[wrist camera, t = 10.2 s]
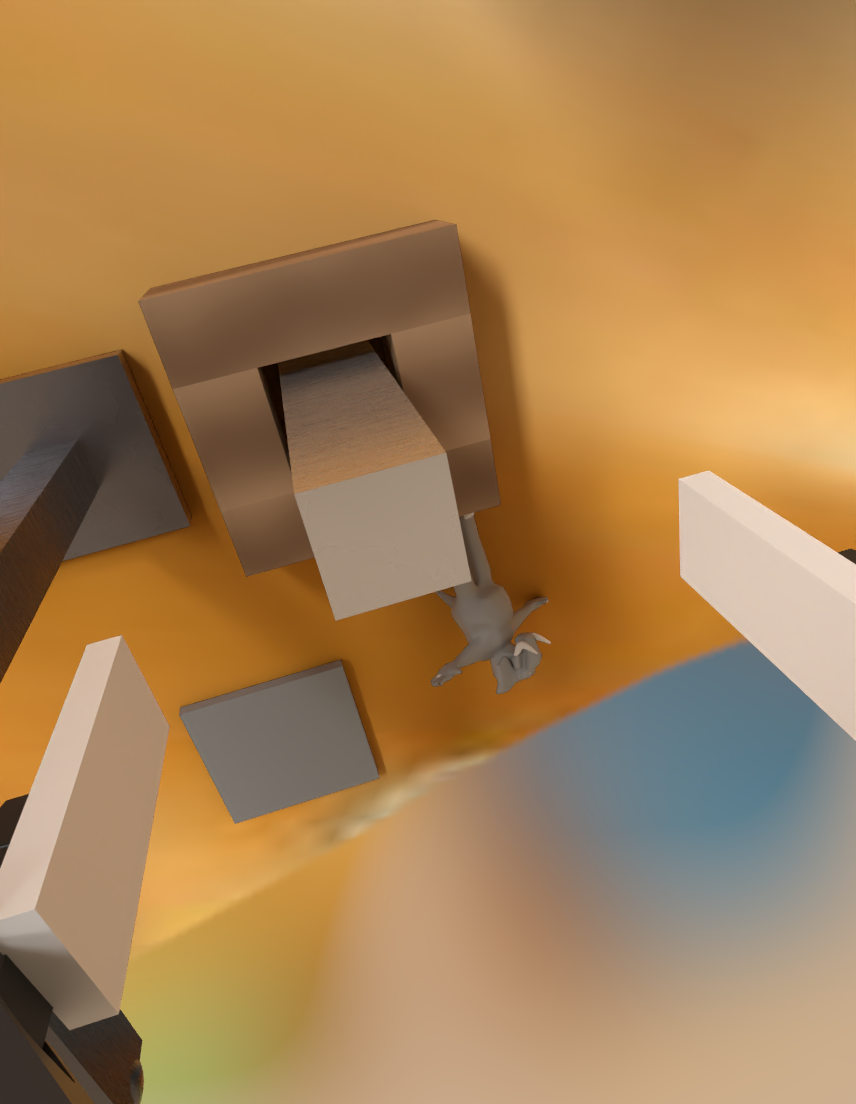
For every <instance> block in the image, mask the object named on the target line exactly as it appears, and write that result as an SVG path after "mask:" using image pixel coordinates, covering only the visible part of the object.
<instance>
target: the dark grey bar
mask: <svg viewBox="0 0 856 1104" xmlns="http://www.w3.org/2000/svg"><path fill="white" fill-rule="evenodd" d="M45 1039H46V1040H47V1042H48V1043H49V1044H50V1045H51V1046H52V1047H53V1048H54V1049H55V1051H56V1052H57V1053H58V1055H59V1056H60V1057H61V1059H62V1060H63V1061H64V1063H65V1064H66V1066H67V1067H68V1068H69V1070H70V1071H71V1072H72V1074H73V1075H74V1076H75V1078H76V1079H77V1081H78V1082H79V1083H80V1085H81V1086H82V1087H83V1089H84V1090H85V1091H86V1093H87V1094H88V1095H89V1097H90V1098H91V1100H92V1101H93V1102H94V1104H140V1102H141V1098H142V1093H143V1085H144V1079H143V1070H142V1066H141V1063H140V1052H141V1045H142V1039H141V1038H140V1037H139V1035H138V1034H137V1033H136V1031H135V1029H134V1028H133V1027H132V1025H131V1024H130V1023H129V1021H128V1020H127V1018H126V1017H125V1015H124V1014H123V1013H122V1011H121V1010H120V1011H119V1014H118V1015H115V1016H112V1017H109V1018H105V1019H102V1020H99V1021H96V1022H93V1023H90V1024H87V1025H84V1026H81V1027H78V1028H75V1029H72V1030H69V1029H68V1028H67V1027H66V1026H65V1025H64V1023H63V1022H62V1021H61V1020H60V1019H59V1018H58V1017H57V1016H56V1014H55V1013H54V1012H53V1011H52V1014H51V1018H50V1022H49V1026H48V1030H47V1034H46V1038H45Z"/></svg>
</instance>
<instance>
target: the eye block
mask: <svg viewBox="0 0 856 1104" xmlns="http://www.w3.org/2000/svg"><path fill="white" fill-rule="evenodd" d="M138 302H139V305H140V307H141V310H142V312H143V315H144V317H145V320H146V322H147V325H148V328H149V330H150V333H151V335H152V338H153V340H154V343H155V345H156V348H157V350H158V353H159V356H160V358H161V361H162V363H163V366H164V368H165V371H166V373H167V376H168V378H169V381H170V384H171V386H172V389H173V391H174V394H175V396H176V399H177V401H178V404H179V406H180V409H181V412H182V414H183V417H184V419H185V422H186V424H187V427H188V429H189V432H190V434H191V437H192V440H193V442H194V445H195V447H196V450H197V452H198V455H199V457H200V460H201V462H202V465H203V468H204V470H205V473H206V475H207V478H208V480H209V483H210V485H211V488H212V491H213V493H214V496H215V498H216V501H217V503H218V506H219V508H220V511H221V513H222V516H223V519H224V521H225V524H226V526H227V529H228V531H229V534H230V536H231V539H232V541H233V544H234V547H235V549H236V552H237V554H238V557H239V559H240V562H241V564H242V567H243V569H244V572H245V575H246V577H247V576H251V575H254V574H258V573H261V572H265V571H268V570H272V569H276V568H279V567H283V566H286V565H290V564H293V563H297V562H300V561H304V560H307V559H311V558H315V556H314V553H313V550H312V547H311V544H310V541H309V538H308V535H307V532H306V529H305V526H304V523H303V520H302V517H301V514H300V511H299V507H298V504H297V501H296V498H295V495H294V489H293V481H292V473H291V465H290V457H289V448H288V445H287V442H286V438H285V435H284V432H283V429H282V426H281V423H280V420H279V417H278V413H277V410H276V407H275V404H274V401H273V398H272V395H271V392H270V388H269V385H268V382H267V379H266V376H265V373H264V370H263V366H267V365H270V364H274V363H278V362H282V361H286V360H290V359H294V358H298V357H302V356H306V355H310V354H314V353H318V352H322V351H326V350H329V349H333V348H337V347H341V346H345V345H349V344H353V343H357V342H361V341H365V340H369V339H373V338H377V337H381V336H382V340H383V345H384V349H385V354H386V358H387V362H388V367H389V371H390V373H391V375H392V376H393V378H394V379H395V380H396V382H397V383H398V385H399V386H400V388H401V389H402V390H403V392H404V393H405V395H406V396H407V398H408V399H409V400H410V402H411V403H412V405H413V406H414V407H415V409H416V410H417V412H418V413H419V415H420V416H421V417H422V419H423V420H424V422H425V423H426V425H427V426H428V427H429V429H430V430H431V432H432V433H433V435H434V436H435V437H436V439H437V440H438V442H439V443H440V444H441V446H442V447H443V449H444V450H445V452H446V454H447V459H448V464H449V469H450V474H451V479H452V484H453V489H454V494H455V499H456V505H457V510H458V515H459V517H460V516H463V515H467V514H470V513H474V512H477V511H481V510H485V509H488V508H492V507H495V506H499V505H501V501H500V495H499V489H498V482H497V476H496V470H495V464H494V457H493V451H492V445H491V439H490V432H489V426H488V420H487V413H486V407H485V401H484V395H483V388H482V382H481V376H480V370H479V363H478V357H477V351H476V345H475V338H474V332H473V326H472V319H471V313H470V307H469V301H468V294H467V288H466V282H465V276H464V269H463V263H462V257H461V250H460V244H459V238H458V232H457V225H456V224H452V223H448V222H443V221H438V220H433V221H429V222H424V223H420V224H416V225H412V226H408V227H404V228H399V229H395V230H391V231H387V232H383V233H379V234H374V235H370V236H366V237H362V238H358V239H354V240H349V241H345V242H341V243H337V244H333V245H329V246H324V247H320V248H316V249H312V250H308V251H303V252H299V253H295V254H291V255H287V256H283V257H278V258H274V259H270V260H266V261H262V262H258V263H253V264H249V265H245V266H241V267H237V268H233V269H228V270H224V271H220V272H216V273H212V274H208V275H203V276H199V277H195V278H191V279H187V280H183V281H178V282H174V283H170V284H166V285H162V286H158V287H153V288H150V289H149V290H148V291H147V292H146V294H145V295H144V296H143V297H142V298H141V299H140V300H139V301H138Z"/></svg>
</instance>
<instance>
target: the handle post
mask: <svg viewBox="0 0 856 1104" xmlns="http://www.w3.org/2000/svg"><path fill="white" fill-rule="evenodd" d="M191 519H192V516H191V514H190V511H189V509H188V507H187V504H186V502H185V499H184V497H183V495H182V492H181V490H180V487H179V485H178V483H177V480H176V478H175V475H174V473H173V471H172V468H171V466H170V464H169V461H168V459H167V456H166V454H165V452H164V449H163V447H162V444H161V442H160V440H159V437H158V435H157V432H156V430H155V428H154V425H153V423H152V421H151V418H150V416H149V413H148V411H147V409H146V406H145V404H144V401H143V399H142V397H141V394H140V392H139V389H138V387H137V385H136V382H135V380H134V378H133V375H132V373H131V370H130V368H129V366H128V363H127V361H126V358H125V356H124V354H123V351H122V350H118V351H114V352H110V353H106V354H102V355H98V356H93V357H89V358H85V359H81V360H77V361H73V362H69V363H65V364H61V365H57V366H53V367H49V368H45V369H41V370H37V371H33V372H29V373H25V374H21V375H17V376H13V377H8V378H4V379H0V683H1V681H2V679H3V677H4V675H5V673H6V671H7V669H8V667H9V665H10V663H11V661H12V659H13V657H14V655H15V653H16V651H17V649H18V647H19V645H20V644H21V642H22V640H23V638H24V636H25V634H26V632H27V630H28V628H29V626H30V624H31V622H32V620H33V618H34V616H35V614H36V612H37V610H38V608H39V606H40V604H41V602H42V600H43V598H44V596H45V594H46V592H47V590H48V588H49V586H50V584H51V582H52V580H53V578H54V576H55V575H56V573H57V571H58V569H59V567H60V565H61V563H62V561H65V560H68V559H72V558H76V557H79V556H83V555H87V554H90V553H94V552H98V551H101V550H105V549H108V548H112V547H116V546H119V545H123V544H127V543H130V542H134V541H138V540H141V539H145V538H149V537H152V536H156V535H160V534H163V533H167V532H171V531H174V530H178V529H182V528H185V527H189V526H190V525H191Z"/></svg>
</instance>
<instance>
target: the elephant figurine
mask: <svg viewBox="0 0 856 1104" xmlns="http://www.w3.org/2000/svg"><path fill="white" fill-rule="evenodd" d="M474 513H475V512H474ZM474 513H470V514H467V515H463V516H460V517H459V520H460V525H461V530H462V535H463V540H464V545H465V550H466V555H467V561H468V566H469V571H470V576H471V581H470V582H467V583H463V584H460V585H457V586H453V587H454V590H455V593H456V596H455V597H453V596H450V595H448V594H446V593H444V592H442V591H440V590H439V591H436V593H437V595H438V596H439V597H440V598H441V599H442V600H444V601H445V602H446V603H447V604H448V605H449V606H450V607H451V608H452V609H451V614H452V618H453V619H454V620H455V622H456V623H457V625H458V626H459V627H460V629H461V630H462V631H463V633H464V635H465V637H466V639H467V641H468V645H467V646H466V647H465V648H464V650H463V651H462V652H461V653H460V654H459V655H458V656H457V657H456V658H455V659H454V660H453V661H452V662H450V663H447V664H445V665H444V666H443V667H442V668H441V669H440V670H439V671H438V673H437V675H436V676H435V677H434V678H432V679H431V684H432V686H433V687H434V686H436V687H438V686H439V685H440V686H441V685H443V683H444V682H446V681H449V680H451V679H452V678H453V677H454V676H455V675H457V674H462V671H461V670H460V668H461V667H464V666H467V665H470V664H473V663H475V662H477V661H486V660H489V659H490V662H491V666H492V671H493V675H494V676H495V678H496V679H497V684H498V685H497V690H496V693H497V694H501V693H505V692H507V691H509V690H510V689H511V688H512V687H513V686H514V684H515V683H517V682H518V681H521V680H524V679H527V678H530V677H531V676H532V675H533V674H534V673H535V672H536V671H535V668H536V667H537V666H538V665H539V663H540V661H541V659H542V653H541V652H540V650H539V648H538V645H537V643H536V640H538V641H542V642H545V643H548V644H551V642H550V641H549V640H548V639H546V638H544V637H543V636H541V635H539V634H537V633H533V632H531V633H521V634H519V635H518V636H517V637H516V638H515V644H516V646H515V645H513V644H512V643H511V640H512V638H513V635H514V634H515V632H516V631H517V629H518V628H519V626H520V625H521V624H522V622H523V621H524V620H525V619H526V617H527V616H528V615H529V614H530V613H531V612H532V611H533V610H536V609H537V608H538V607H540V606H541V605H542V604H545V603H546V602H549V601H548V598H547V597H540V598H535V599H533V600H528V601H527V602H526V603H525V604H524V605H523V607H521V608H520V609H518V610H516V611H514V612H513V608H512V603H511V600H510V598H509V596H508V594H507V592H506V590H505V589H504V588H503V587H502V586H500V585H497V584H495V583H494V582H493V581H492V577H491V569H490V566H489V563H488V560H487V557H486V555H485V552H484V549H483V546H482V543H481V540H480V537H479V534H478V530H477V526H476V522H475V519H474Z"/></svg>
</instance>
